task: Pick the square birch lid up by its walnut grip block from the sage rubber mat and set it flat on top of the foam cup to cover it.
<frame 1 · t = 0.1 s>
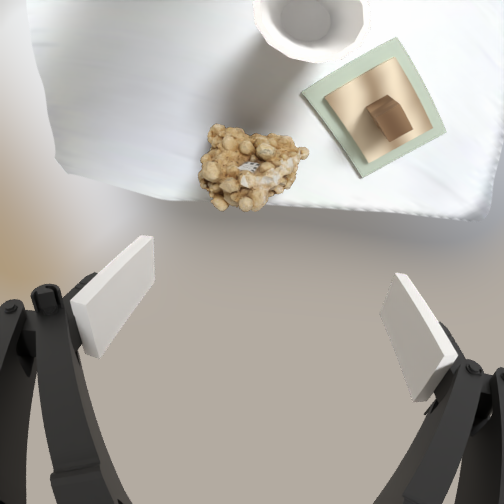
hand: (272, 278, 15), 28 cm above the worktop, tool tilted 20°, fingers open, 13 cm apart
lid: (387, 116, 30), on the mat
mineral formation: (258, 142, 38), on the worktop
mat: (380, 109, 32), on the worktop
foam cup: (305, 20, 26), on the worktop
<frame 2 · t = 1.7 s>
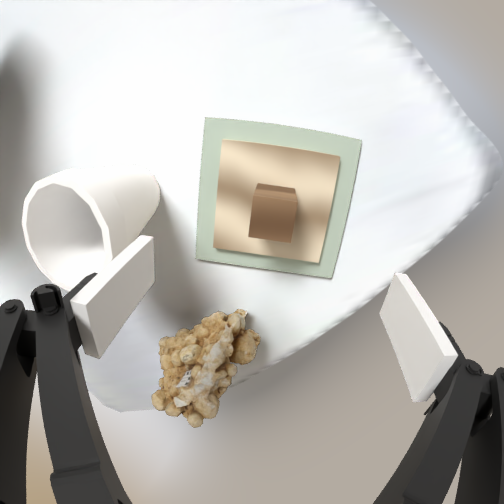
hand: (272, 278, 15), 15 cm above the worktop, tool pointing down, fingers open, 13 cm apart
lid: (273, 209, 26), on the mat
mineral formation: (214, 323, 36), on the worktop
mat: (273, 200, 29), on the worktop
foam cup: (135, 192, 30), on the worktop
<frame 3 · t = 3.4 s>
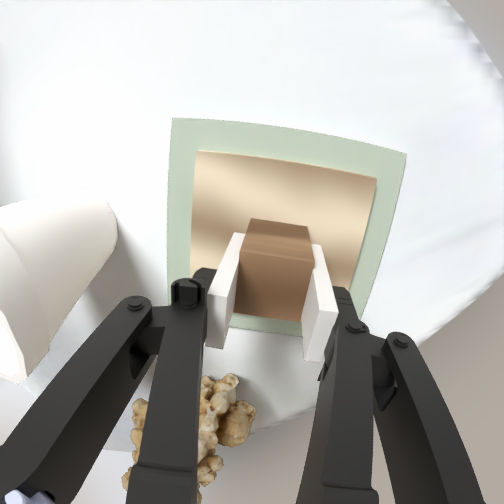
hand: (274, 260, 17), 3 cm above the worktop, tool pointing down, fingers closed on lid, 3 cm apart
lid: (273, 262, 17), on the mat, touching gripper
mineral formation: (198, 384, 27), on the worktop
mat: (275, 240, 20), on the worktop
foam cup: (88, 225, 21), on the worktop
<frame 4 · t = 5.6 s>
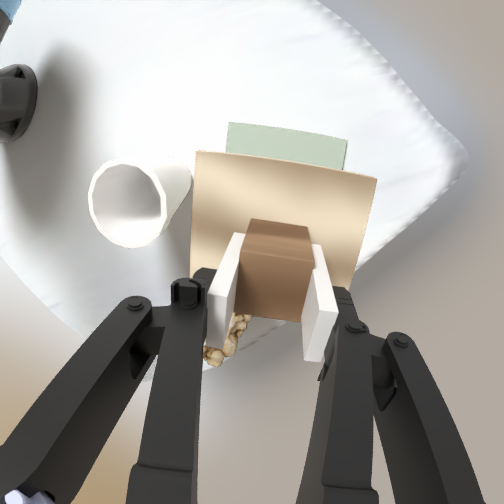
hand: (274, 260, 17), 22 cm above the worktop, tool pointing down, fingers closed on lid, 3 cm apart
lid: (274, 262, 17), point 23 cm above the worktop, touching gripper
mineral formation: (230, 288, 45), on the worktop
mat: (280, 185, 37), on the worktop
foam cup: (170, 179, 39), on the worktop
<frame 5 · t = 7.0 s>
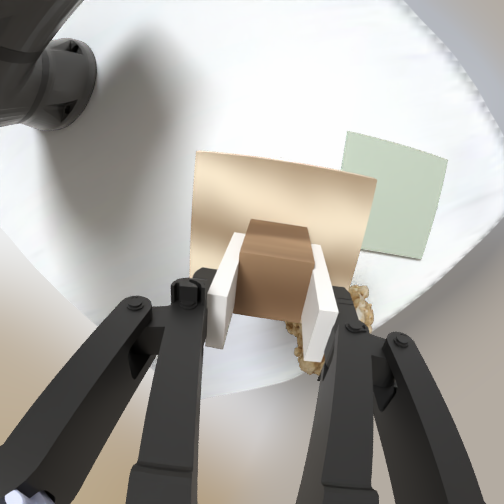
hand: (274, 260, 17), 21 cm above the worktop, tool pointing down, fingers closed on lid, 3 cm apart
lid: (273, 263, 17), point 22 cm above the worktop, touching gripper
mineral formation: (327, 299, 43), on the worktop
mat: (390, 199, 35), on the worktop
when the fingers open (17 cm above the worktop, at t = 8.0 s): lid drops 2 cm, resting on foam cup.
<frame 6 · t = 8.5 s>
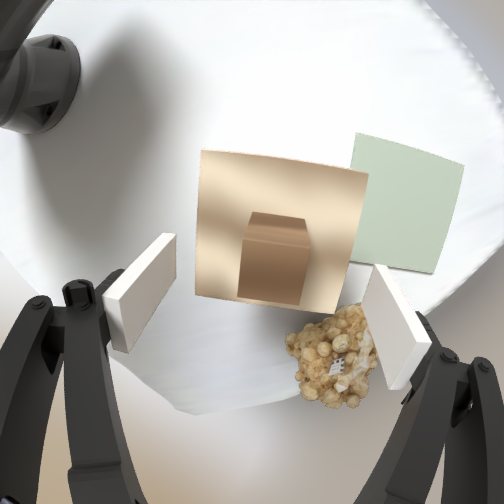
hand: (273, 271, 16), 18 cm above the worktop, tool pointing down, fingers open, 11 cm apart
lid: (274, 252, 18), point 16 cm above the worktop, touching foam cup
mineral formation: (331, 317, 39), on the worktop
mat: (402, 208, 32), on the worktop
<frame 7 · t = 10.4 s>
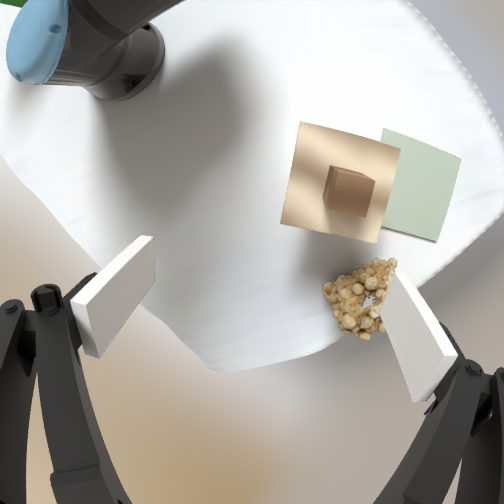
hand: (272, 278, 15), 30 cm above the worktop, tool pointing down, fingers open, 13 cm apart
lid: (346, 188, 27), point 16 cm above the worktop, touching foam cup
mineral formation: (357, 273, 48), on the worktop
mat: (413, 187, 41), on the worktop
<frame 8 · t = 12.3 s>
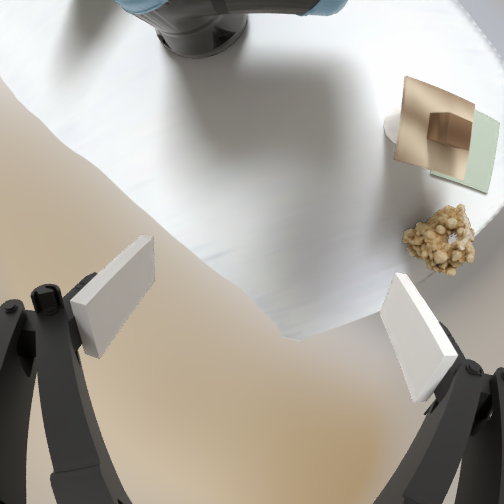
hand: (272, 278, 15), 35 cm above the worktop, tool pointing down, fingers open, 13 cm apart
lid: (447, 130, 26), point 16 cm above the worktop, touching foam cup
mineral formation: (427, 223, 47), on the worktop
mat: (467, 145, 40), on the worktop
foam cup: (399, 126, 41), on the worktop, touching lid
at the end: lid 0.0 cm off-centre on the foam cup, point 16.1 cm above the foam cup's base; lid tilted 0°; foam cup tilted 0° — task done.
